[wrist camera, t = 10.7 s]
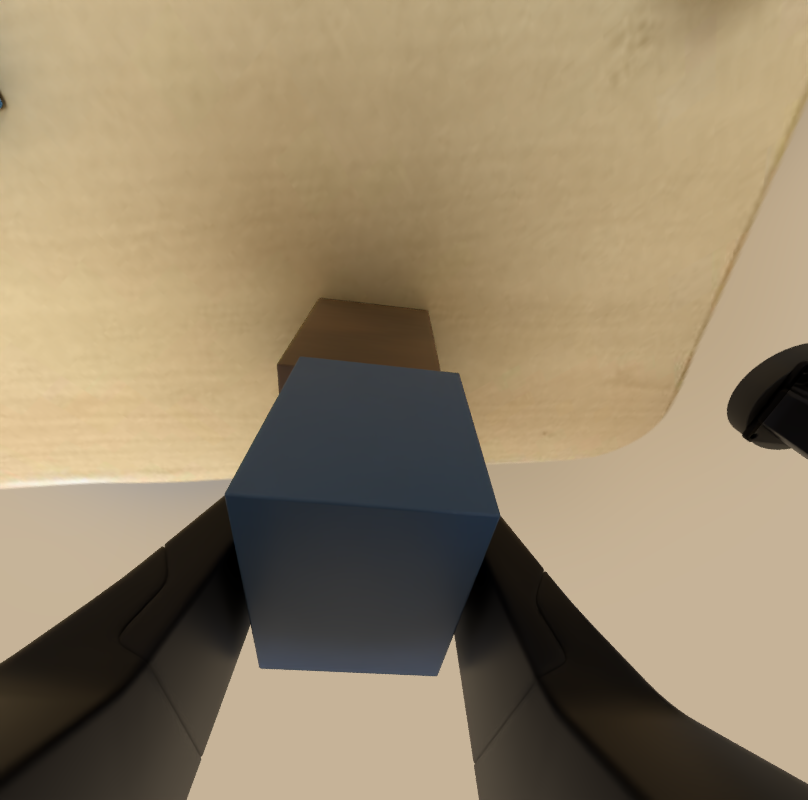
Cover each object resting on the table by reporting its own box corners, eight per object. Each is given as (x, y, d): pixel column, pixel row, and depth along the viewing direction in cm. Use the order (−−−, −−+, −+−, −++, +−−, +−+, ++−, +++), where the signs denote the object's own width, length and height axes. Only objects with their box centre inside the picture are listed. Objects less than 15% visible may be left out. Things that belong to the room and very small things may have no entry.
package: (459, 372, 9) (502, 516, 5) (426, 517, 12) (437, 677, 8) (299, 355, 9) (222, 494, 5) (304, 508, 12) (259, 669, 8)
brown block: (428, 310, 20) (443, 381, 13) (413, 401, 23) (419, 496, 16) (318, 297, 19) (276, 363, 13) (319, 391, 23) (284, 485, 16)
